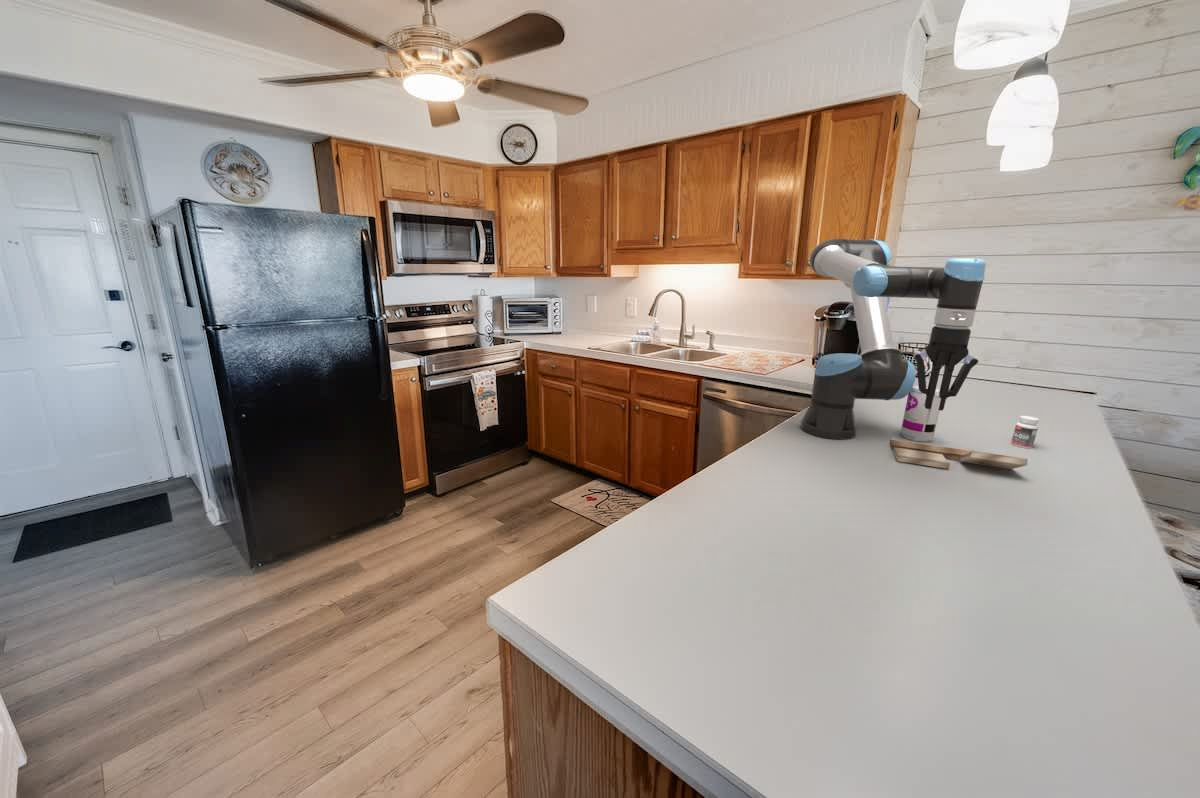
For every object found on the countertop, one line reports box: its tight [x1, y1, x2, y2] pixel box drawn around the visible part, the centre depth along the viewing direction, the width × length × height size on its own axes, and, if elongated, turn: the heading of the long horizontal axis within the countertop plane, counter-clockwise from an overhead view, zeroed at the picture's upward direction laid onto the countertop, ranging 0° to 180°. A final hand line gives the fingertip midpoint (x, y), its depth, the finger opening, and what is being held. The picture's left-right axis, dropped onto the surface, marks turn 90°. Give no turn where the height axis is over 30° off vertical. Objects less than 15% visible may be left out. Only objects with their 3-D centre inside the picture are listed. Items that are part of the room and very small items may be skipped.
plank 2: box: [959, 450, 1029, 470], centre depth 118 cm, size 11×8×2 cm
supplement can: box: [900, 385, 940, 443], centre depth 139 cm, size 8×8×15 cm
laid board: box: [889, 439, 1005, 462], centre depth 128 cm, size 26×6×2 cm, turn 66°
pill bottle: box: [1010, 415, 1040, 449], centre depth 136 cm, size 5×5×8 cm
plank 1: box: [892, 447, 951, 470], centre depth 124 cm, size 11×8×2 cm
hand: (930, 421), depth 119 cm, fingers closed
